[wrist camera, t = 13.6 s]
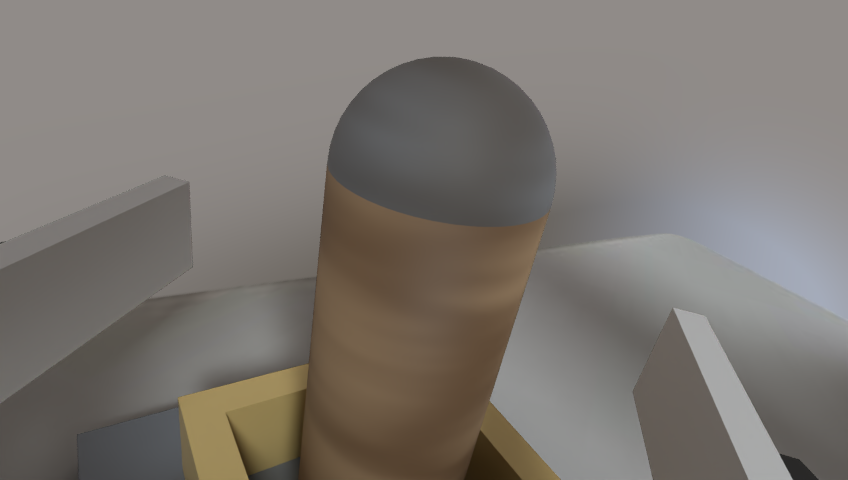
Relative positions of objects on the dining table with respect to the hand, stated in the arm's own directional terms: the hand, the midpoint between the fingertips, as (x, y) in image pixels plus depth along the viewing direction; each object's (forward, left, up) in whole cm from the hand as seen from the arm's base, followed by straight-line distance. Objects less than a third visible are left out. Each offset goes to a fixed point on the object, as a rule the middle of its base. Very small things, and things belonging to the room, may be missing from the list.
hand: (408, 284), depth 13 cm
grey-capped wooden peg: (0, +1, -10) cm, 10 cm away
